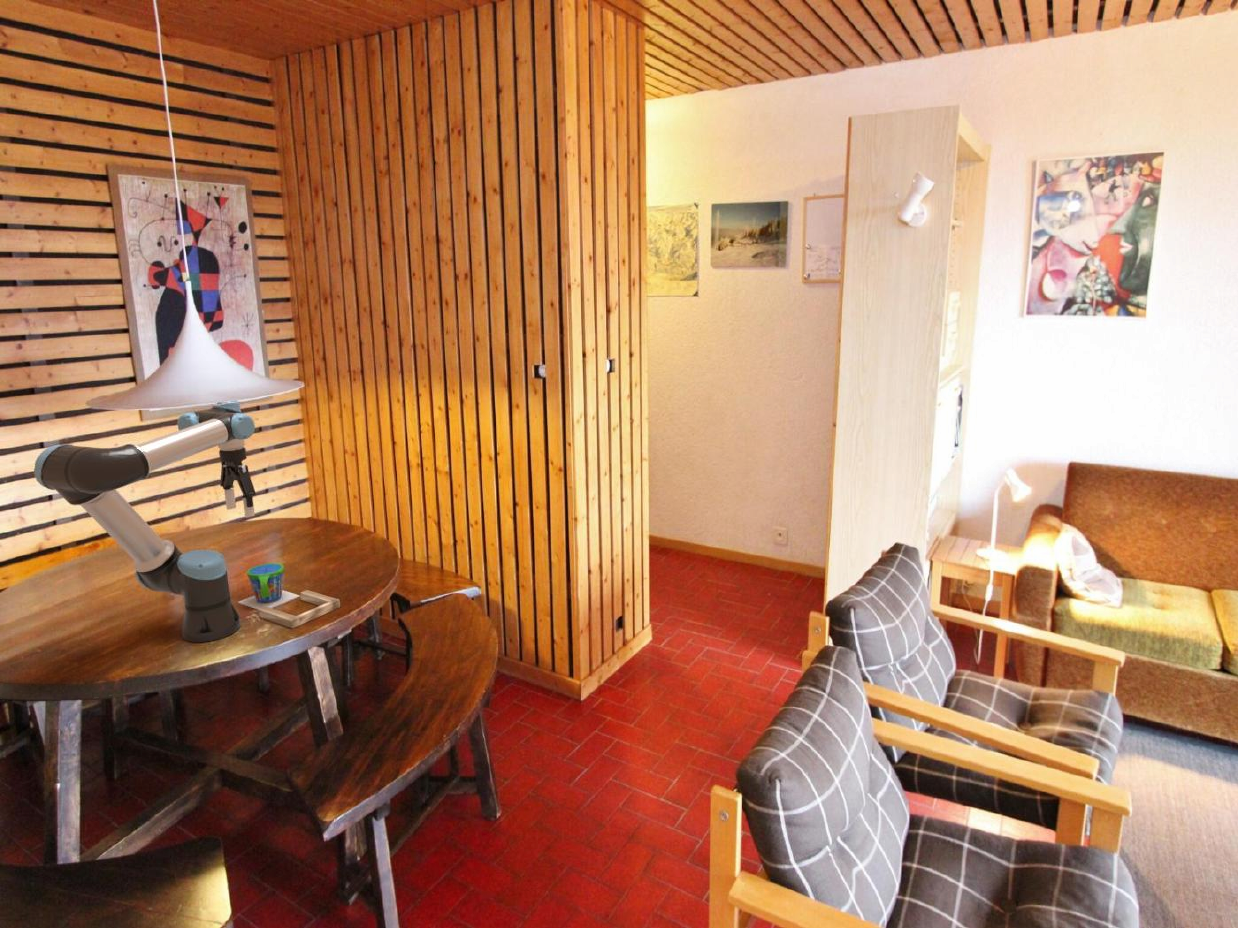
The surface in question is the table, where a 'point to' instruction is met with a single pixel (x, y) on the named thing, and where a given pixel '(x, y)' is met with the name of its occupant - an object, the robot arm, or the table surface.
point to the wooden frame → (292, 621)
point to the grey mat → (258, 605)
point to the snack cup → (266, 581)
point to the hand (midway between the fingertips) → (240, 512)
